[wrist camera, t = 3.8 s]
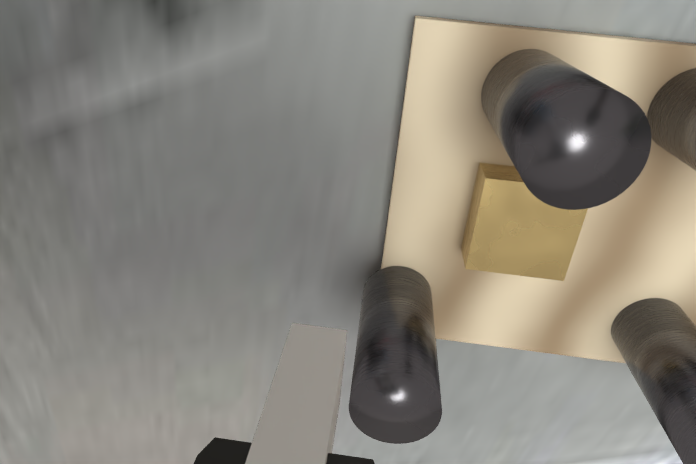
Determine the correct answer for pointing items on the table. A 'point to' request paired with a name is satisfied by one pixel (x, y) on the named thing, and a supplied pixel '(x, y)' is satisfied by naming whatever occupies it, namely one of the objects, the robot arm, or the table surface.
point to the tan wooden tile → (517, 228)
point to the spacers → (561, 192)
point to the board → (484, 146)
